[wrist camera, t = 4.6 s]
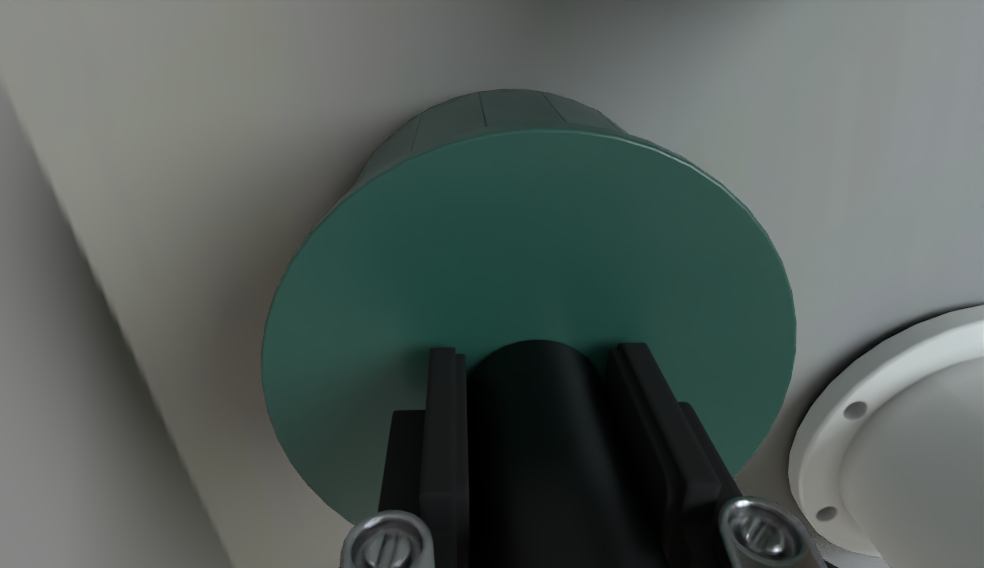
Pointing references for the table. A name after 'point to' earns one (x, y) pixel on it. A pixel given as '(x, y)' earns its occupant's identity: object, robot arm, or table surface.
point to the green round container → (482, 120)
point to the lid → (528, 329)
